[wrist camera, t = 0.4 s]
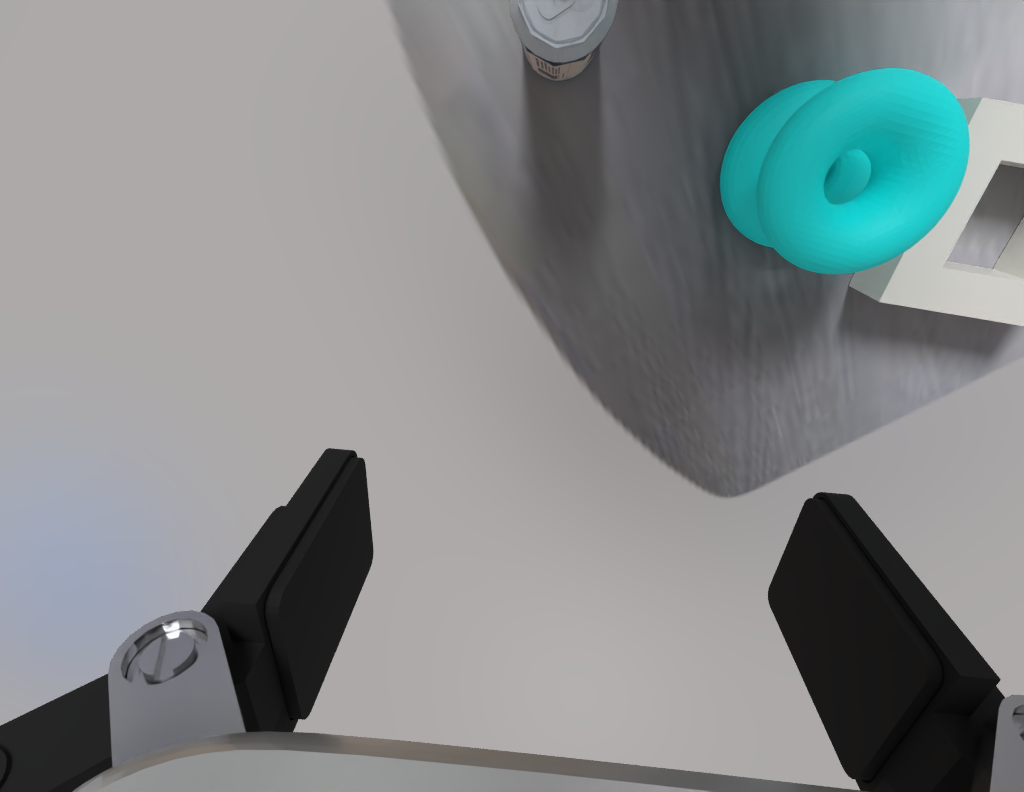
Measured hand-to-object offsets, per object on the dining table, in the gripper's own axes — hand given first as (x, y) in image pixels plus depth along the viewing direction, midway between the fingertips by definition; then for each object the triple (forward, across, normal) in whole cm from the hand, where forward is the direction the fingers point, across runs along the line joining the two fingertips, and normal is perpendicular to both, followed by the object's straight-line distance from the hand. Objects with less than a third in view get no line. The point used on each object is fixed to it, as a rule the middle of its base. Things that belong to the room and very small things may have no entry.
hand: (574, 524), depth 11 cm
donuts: (+31, -15, -6) cm, 35 cm away
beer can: (+31, +1, -12) cm, 33 cm away
